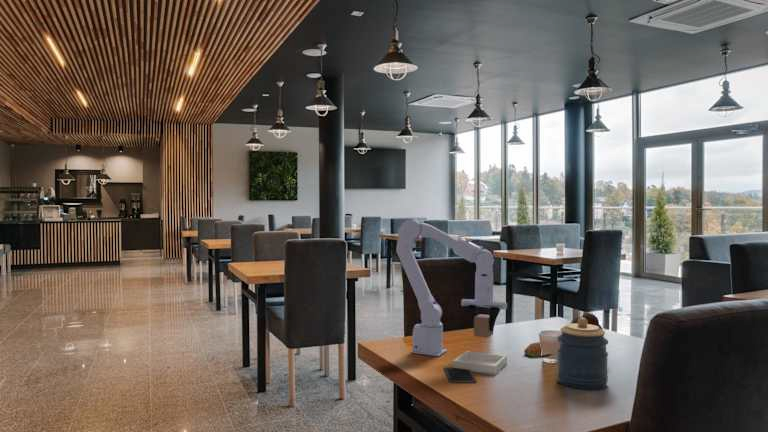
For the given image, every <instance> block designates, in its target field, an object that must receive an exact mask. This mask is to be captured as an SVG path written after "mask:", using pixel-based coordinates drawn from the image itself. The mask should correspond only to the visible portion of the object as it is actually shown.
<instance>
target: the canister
mask: <svg viewBox="0 0 768 432" xmlns="http://www.w3.org/2000/svg"><path fill="white" fill-rule="evenodd" d="M602 329H603V328H602ZM602 329H600V328H599V327H598V326H595V325H591V324H588V321H587V320H586V319H585V318H579V319H578V322H577V323H571V322H570V323H568V324H566V325H565V326H563V327H561V328H560V332H561V334H559V335H557V336H556V338H557V339H556V340H558V341H559V342H558V343H559V344H558V347H557V350H556V351H557V370H556V376H557V381H558V382H559V383H560V384H562V385H564V386H565V387H568V388H572V389H579V390H587V391H588V390H592V391H593V390H594V391H595V390H602V389H604V388H606V387H607V384H608V381H609V375H608V356H609V352H608V351H607V345H608V344H609V340H608V339H607V338H605V334H606V332H604V331H605V330H604V329H603V330H602ZM603 335H604V336H603Z"/></svg>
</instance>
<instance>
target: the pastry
mask: <svg viewBox="0 0 768 432" xmlns="http://www.w3.org/2000/svg"><path fill="white" fill-rule="evenodd" d="M540 342H541V341H537V342H533V343H532V342H531V343H530V344H529V345H528V346H527V347H526V348H525V350H524V351H523V352H524V355H525V356H530V357H533V358H536V357H537V358H538V357H542V356H541V346H540Z"/></svg>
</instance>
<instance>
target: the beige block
mask: <svg viewBox="0 0 768 432" xmlns="http://www.w3.org/2000/svg"><path fill="white" fill-rule="evenodd" d="M489 326H490V317H489V314H482V313H480V314H479V313H478V315H477V316H476V317H474V326H473V337H480V338H487V339H488V338H489V337H491V336H493V334H494V330H493V331H490V329H489Z"/></svg>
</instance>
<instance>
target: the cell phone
mask: <svg viewBox="0 0 768 432" xmlns="http://www.w3.org/2000/svg"><path fill="white" fill-rule="evenodd" d="M443 371H444V374H445V375H446V378H447V379H448V382H449V383H450V384H477V380H476V378H475V376H474V375H473V372H471V371H470V370H465V369H458V368H453V366H452V367H449V366H448V367H446V366H445V367H444V368H443Z"/></svg>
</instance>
